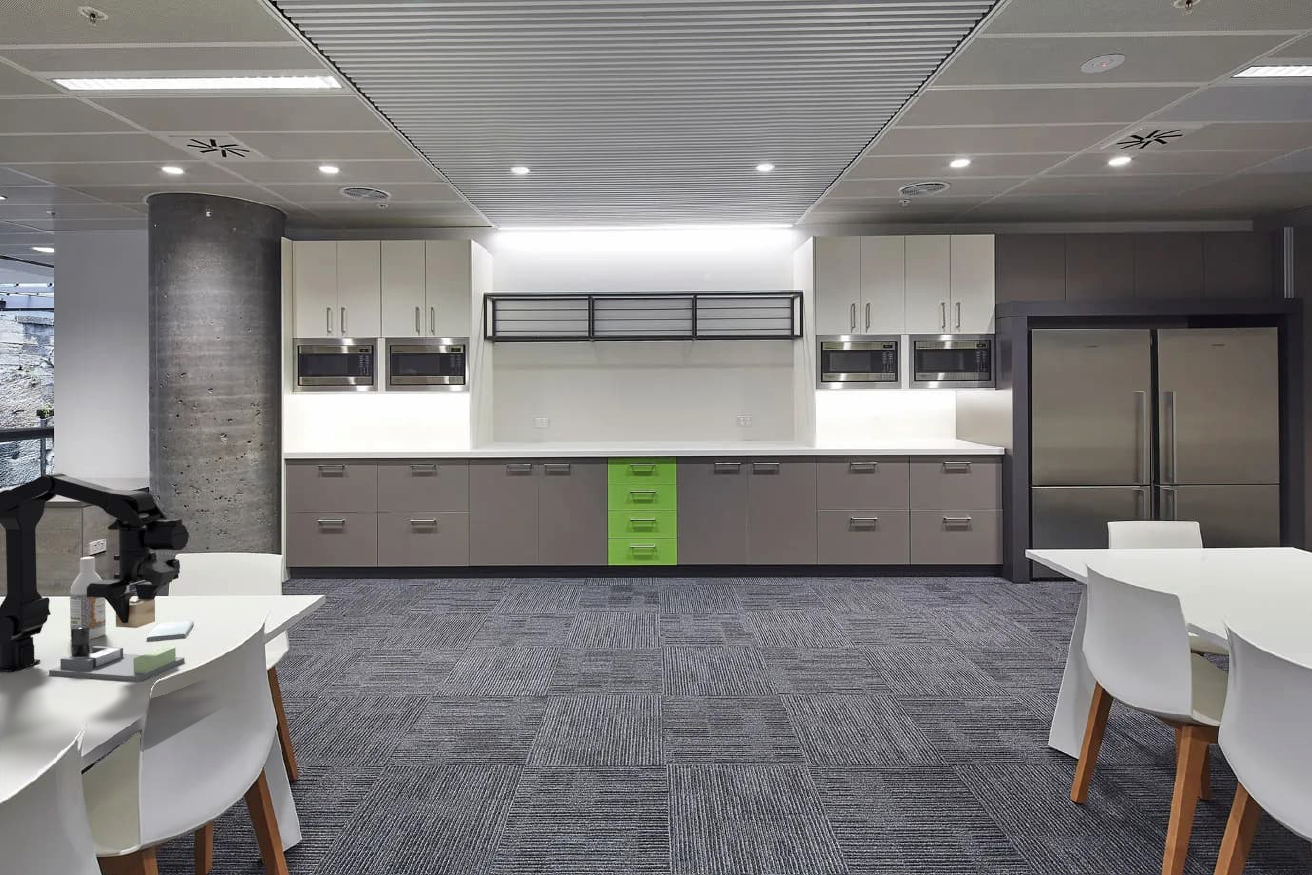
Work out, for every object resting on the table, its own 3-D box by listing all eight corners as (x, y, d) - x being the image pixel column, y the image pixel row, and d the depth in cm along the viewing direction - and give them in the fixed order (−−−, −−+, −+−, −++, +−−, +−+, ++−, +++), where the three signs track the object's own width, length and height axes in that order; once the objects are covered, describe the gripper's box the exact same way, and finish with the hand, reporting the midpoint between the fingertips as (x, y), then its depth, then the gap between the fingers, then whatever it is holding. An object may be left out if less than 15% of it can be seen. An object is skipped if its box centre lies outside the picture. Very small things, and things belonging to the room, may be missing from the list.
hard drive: (185, 633, 182) (193, 619, 193) (146, 637, 179) (157, 623, 190) (185, 639, 182) (193, 625, 193) (146, 643, 179) (157, 629, 190)
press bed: (48, 674, 156) (48, 656, 155) (98, 656, 168) (98, 639, 167) (140, 681, 153) (140, 662, 153) (184, 661, 165) (184, 644, 165)
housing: (115, 626, 158) (115, 602, 157) (134, 620, 162) (134, 597, 162) (136, 627, 157) (136, 603, 157) (155, 621, 162) (154, 598, 162)
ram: (61, 664, 159) (61, 631, 158) (86, 655, 164) (86, 623, 164) (96, 666, 157) (96, 633, 157) (120, 657, 163) (119, 625, 163)
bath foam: (92, 641, 178) (91, 560, 177) (63, 640, 178) (62, 560, 177) (112, 632, 185) (111, 555, 184) (84, 632, 185) (83, 554, 184)
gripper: (132, 559, 149) (133, 634, 149) (199, 543, 167) (200, 609, 168) (83, 557, 150) (84, 631, 151) (156, 541, 169) (156, 607, 169)
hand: (135, 619), depth 160 cm, fingers closed on housing, 5 cm apart
